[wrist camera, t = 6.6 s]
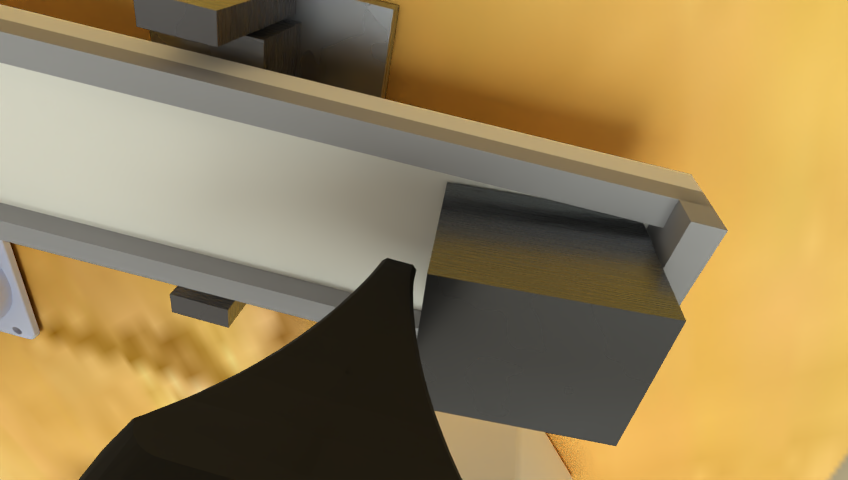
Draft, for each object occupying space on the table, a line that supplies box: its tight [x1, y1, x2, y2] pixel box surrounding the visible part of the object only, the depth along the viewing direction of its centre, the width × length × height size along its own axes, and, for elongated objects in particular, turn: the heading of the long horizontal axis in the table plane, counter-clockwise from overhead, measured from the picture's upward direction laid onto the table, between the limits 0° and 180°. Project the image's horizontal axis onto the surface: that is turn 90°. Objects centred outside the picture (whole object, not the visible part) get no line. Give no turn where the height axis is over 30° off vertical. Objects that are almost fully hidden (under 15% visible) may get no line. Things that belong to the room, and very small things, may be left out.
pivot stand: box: [133, 0, 399, 328], centre depth 16 cm, size 8×10×6 cm
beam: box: [0, 4, 728, 337], centre depth 15 cm, size 26×7×5 cm, turn 79°
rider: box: [417, 182, 686, 446], centre depth 12 cm, size 5×4×4 cm
